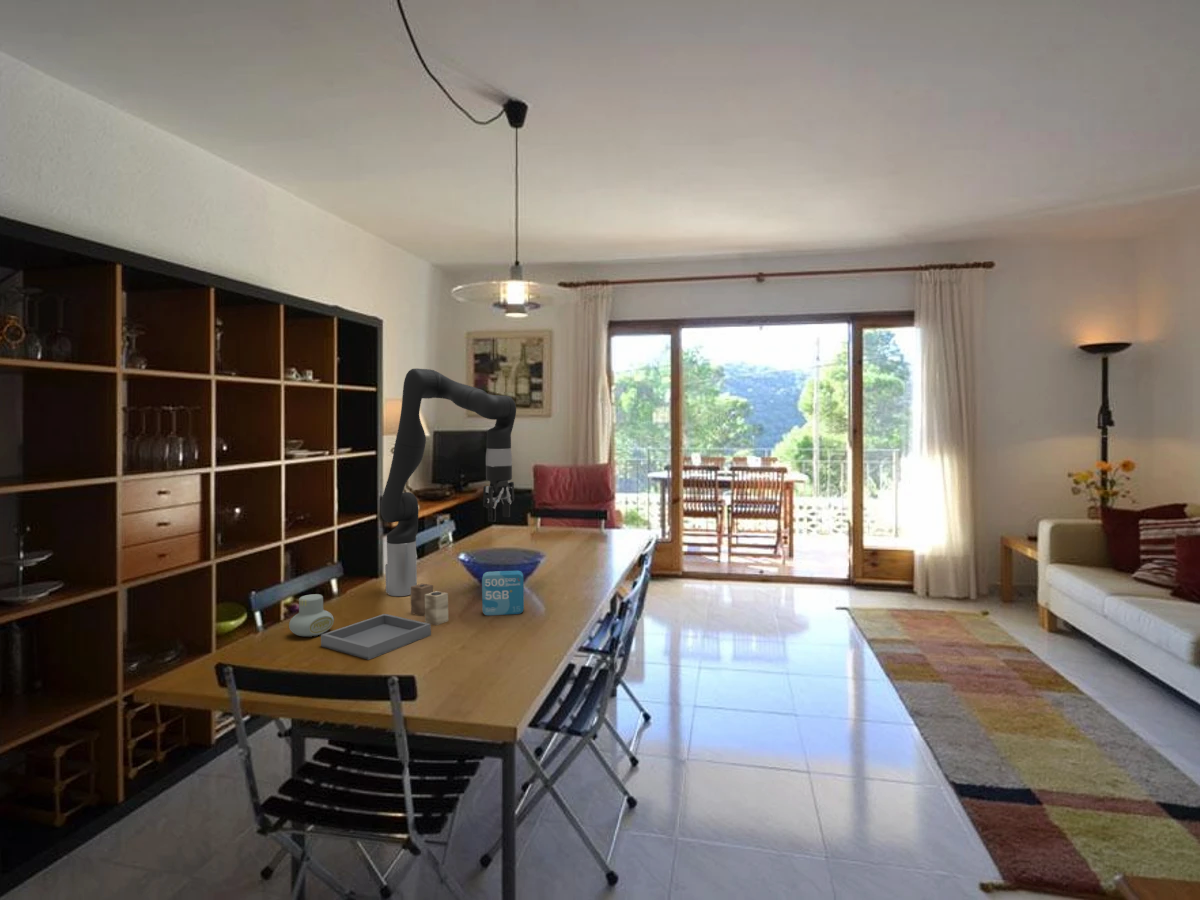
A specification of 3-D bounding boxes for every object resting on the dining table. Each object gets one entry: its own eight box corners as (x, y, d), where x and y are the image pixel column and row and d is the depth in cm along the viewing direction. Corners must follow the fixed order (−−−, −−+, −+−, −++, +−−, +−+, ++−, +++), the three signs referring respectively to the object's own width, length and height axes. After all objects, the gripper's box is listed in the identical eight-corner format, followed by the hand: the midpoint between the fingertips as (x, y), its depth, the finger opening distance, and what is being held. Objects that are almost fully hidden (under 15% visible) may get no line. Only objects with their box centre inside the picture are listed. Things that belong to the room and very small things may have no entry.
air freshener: (302, 642, 162) (301, 604, 162) (283, 636, 167) (282, 599, 166) (339, 630, 172) (338, 594, 171) (320, 625, 176) (319, 590, 176)
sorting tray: (321, 646, 159) (320, 634, 159) (384, 624, 176) (384, 613, 176) (368, 659, 150) (368, 647, 150) (430, 635, 167) (430, 624, 167)
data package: (482, 616, 183) (481, 575, 183) (483, 611, 188) (482, 571, 187) (523, 614, 185) (523, 573, 185) (523, 609, 190) (523, 570, 189)
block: (425, 622, 178) (424, 594, 177) (436, 618, 182) (436, 590, 181) (436, 625, 175) (436, 596, 175) (448, 620, 179) (447, 592, 179)
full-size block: (411, 613, 186) (410, 586, 186) (422, 609, 190) (422, 582, 190) (422, 615, 184) (421, 588, 184) (433, 611, 188) (432, 584, 187)
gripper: (499, 462, 191) (499, 514, 192) (474, 465, 178) (475, 522, 179) (521, 462, 189) (521, 516, 189) (498, 466, 175) (498, 523, 176)
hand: (499, 519), depth 184 cm, fingers open, 8 cm apart
